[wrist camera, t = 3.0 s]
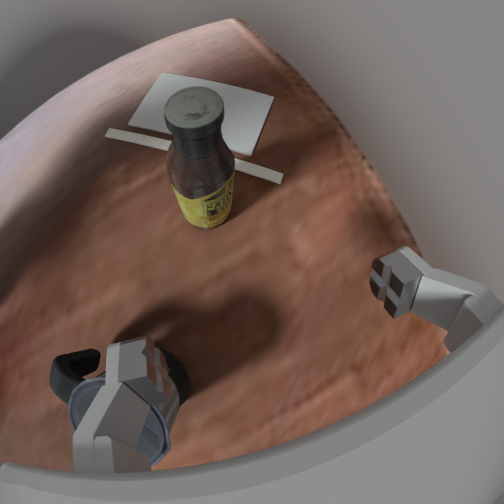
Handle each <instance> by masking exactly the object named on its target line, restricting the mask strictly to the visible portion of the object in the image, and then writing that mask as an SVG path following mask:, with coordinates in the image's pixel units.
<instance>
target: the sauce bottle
mask: <svg viewBox="0 0 504 504" xmlns="http://www.w3.org/2000/svg"><path fill="white" fill-rule="evenodd" d="M164 118H165V122H166V126H167V128H168V130H169V131H170V132H171V134H172V138H173V141H172V142H171V144H170V146H169V148H168V152H167V157H166V166H167V170H168V174H169V178H170V182H171V184H172V187H173V190H174V192H175V195H176V197H177V200H178V202H179V205H180V208H181V210H182V213H183V215H184V216H185V218H186V219H187V220H188V221H189V223H191V224H192V225H193V226H194V227H196V228H198V229H202V230H208V229H214V228H216V227H218V226H219V225H221V224H222V223H223V222H224V221H225V219H226V218H227V217H228V215H229V213H230V210H231V205H232V194H233V183H234V172H235V158H234V156H233V154H232V152H231V151H230V149H229V147H228V146H227V144H226V143H225V141H224V139H223V137H222V132H221V124H222V122H223V120H224V103H223V100H222V98H221V97H220V95H219V94H218V93H217V92H216V91H214V90H212V89H210V88H207V87H202V86H192V87H188V88H184V89H182V90H179V91H177V92H176V93H174V94H173V95H172V96H171V97H170V98H169V99H168V101H167V102H166V104H165V106H164Z"/></svg>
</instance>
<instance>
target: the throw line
mask: <svg viewBox="0 0 504 504" xmlns="http://www.w3.org/2000/svg"><path fill="white" fill-rule="evenodd" d="M105 137H106V138H111V139H116V140H121V141H126V142H130V143H135V144H139V145H144V146H148V147H152V148H156V149H160V150H164V151H168V148H169V146H170V144H171V142H172V141H169V140H165V139H160V138H156V137H151V136H147V135H142V134H137V133H132V132H127V131H122V130H117V129H111V128H109V129H108V131H107V133H106V135H105ZM235 170H236V171H240V172H243V173H246V174H249V175H252V176H256V177H259V178H262V179H265V180H268V181H271V182H274V183H277V184H280V183H281V180H282V177H283V174H282V173H280V172H277V171H274V170H271V169H268V168H265V167H261V166H258V165H255V164H252V163H249V162H246V161H242V160H239V159H236V158H235Z"/></svg>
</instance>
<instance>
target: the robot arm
mask: <svg viewBox="0 0 504 504" xmlns="http://www.w3.org/2000/svg"><path fill="white" fill-rule="evenodd" d="M372 268H373V270H374V272H373V273H372V275H371V276H370V287H371V291H372V292H373V294H374V296H375V297H376V298H377V299H378V300H381V301H383V302H384V308H385V309H386V310H387V312H388V313H389V314H390V315H391V317H392V318H393V319H395V318H397V317H399V316H401V315H403V314H404V313H406V312H408V311H410V310H411V311H410V312H412V313H414V314H416V315H418V316H420V317H422V318H424V319H426V320H428V321H430V322H432V323H433V324H435V325H437V326H439V327H441V328H443V329H445V330H447V331H448V333H447V335H446V337H445V338H444V342H443V343H444V345H445V346H446V347H447V348H448V350H449V351H450V352H451V353H450V354H449V355H447V356H446V357H445V358H443V359H442V360H441V361H439V362H438V363H437V364H435V365H434V366H432V367H431V368H430V369H428V370H427V371H425V372H424V373H422V374H421V375H419V376H418V377H416V378H415V379H413V380H412V381H410V382H409V383H407V384H406V385H404V386H402V387H401V388H399V389H397V390H396V391H394V392H392V393H391V394H389V395H387V396H386V397H384V398H382V399H380V400H379V401H377V402H375V403H373V404H371V405H369V406H367V407H366V408H364V409H362V410H360V411H358V412H356V413H354V414H352V415H350V416H348V417H346V418H343V419H341V420H339V421H337V422H335V423H332V424H330V425H328V426H326V427H323V428H321V429H319V430H316V431H314V432H311V433H309V434H306V435H304V436H301V437H298V438H296V439H293V440H290V441H287V442H284V443H281V444H278V445H275V446H272V447H269V448H266V449H263V450H259V451H256V452H252V453H249V454H245V455H241V456H237V457H233V458H229V459H225V460H220V461H216V462H211V463H206V464H200V465H194V466H188V467H182V468H174V469H166V470H157V471H151V465H150V460H149V457H148V456H147V455H145V454H143V453H141V452H139V451H137V450H135V447H136V444H137V441H138V439H139V436H140V433H141V431H142V428H143V425H144V423H145V420H146V418H147V415H148V412H149V410H150V407H151V406H150V405H155V404H159V403H163V402H168V401H172V398H171V390H170V384H169V383H168V382H167V381H166V379H165V378H166V377H167V375H168V367H167V363H166V360H165V357H164V355H163V353H162V352H161V350H160V349H159V348H156V347H154V341H153V340H152V338H151V337H150V336H143V337H139V338H135V339H130V340H126V341H122V342H118V343H114V344H109V346H108V348H107V360H106V378H105V385H104V386H101V388H100V390H99V391H98V393H97V395H96V396H95V398H94V400H93V402H92V403H91V405H90V407H89V408H88V410H87V412H86V414H85V415H84V417H83V419H82V421H81V422H80V424H79V426H78V428H77V430H76V431H75V433H74V435H73V468H74V471H64V470H55V469H47V468H40V467H34V466H29V465H24V464H19V463H15V462H5V463H4V464H3V465H2V467H1V468H0V504H504V304H503V303H502V302H501V301H500V300H499V299H498V298H497V297H496V296H495V295H494V294H493V293H492V292H491V291H490V290H489V289H488V288H487V287H486V286H485V285H484V284H481V283H478V282H475V281H473V280H470V279H467V278H464V277H461V276H458V275H455V274H452V273H449V272H446V271H443V270H440V269H437V268H436V269H433V268H431V267H430V266H429V265H428V264H427V263H426V262H425V261H424V260H423V259H422V258H421V257H419V256H418V255H417V254H416V253H415V252H414V251H413V250H412V249H410V248H409V247H407V246H403V247H401V248H399V249H396V250H395V251H391V252H389V253H387V254H384V255H382V256H380V257H377V258H375V259H374V260H373V262H372Z"/></svg>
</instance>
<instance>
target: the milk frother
mask: <svg viewBox="0 0 504 504" xmlns="http://www.w3.org/2000/svg"><path fill="white" fill-rule="evenodd" d="M159 349H160V348H159ZM160 350H161V352H162V353H163V355H164V357H165V360H166V363H167V367H168V375H167V377H166V378H165V379H166V381H167V382H168V383H169V384H170V390H171V398H172V401H168V402H163V403H159V404H155V405H150V406H151V407H150V410H149V412H148V415H147V418H146V420H145V423H144V425H143V428H142V431H141V433H140V436H139V439H138V441H137V444H136V447H135V450H137V451H139V452H141V453H143V454H145V455H147V456H148V457H149V460H150V465H151V466H153V465H155V464H156V463H158V462H159V461H160V460H161V459H162V458H163V457H164V456H165V455H166V454H167V453H168V452H169V451H170V447H171V445H170V438H169V434H170V431H171V428H172V426H173V423H174V421H175V418H176V416H177V413H178V411H179V408H180V406H181V405H182V404H183V402H184V401H185V400H186V398H187V396H188V393H189V377H188V374H187V372H186V369H185V368H184V366H183V364H182V363H181V362H180V361H179V360H178V359H177V358H176V357H175V356H174V355H172V354H171V353H169V352H168V351H165V350H163V349H160ZM100 357H101V354H100V352H99V351H98V350H95V349H87V350H82V351H78V352H73V353H69V354H64V355H60V356H57V357H56V358H55V359H54V360H53V363H52V366H51V371H50V385H51V388H52V390H53V391H54V393H55V394H56V395H57V396H58V397H59V398H60V399H61V400H62V401H64V402H65V403H67V404H68V409H69V417H70V421H71V424H72V426H73V429H74V431H76V430H77V428H78V426H79V424H80V422H81V421H82V419H83V417H84V415H85V414H86V412H87V410H88V408H89V407H90V405H91V403H92V402H93V400H94V398H95V396H96V395H97V393H98V391H99V390H100V388H101V386H104V385H105V378H106V371H104V372H103V373H101V374H100V375H98V376H97V377H95V378H90V379H87V380H86V379H84V378H82V377H83V376H86V375H88V374H90V373H92V372H94V371H96V369H97V368H98V365H99V361H100Z"/></svg>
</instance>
